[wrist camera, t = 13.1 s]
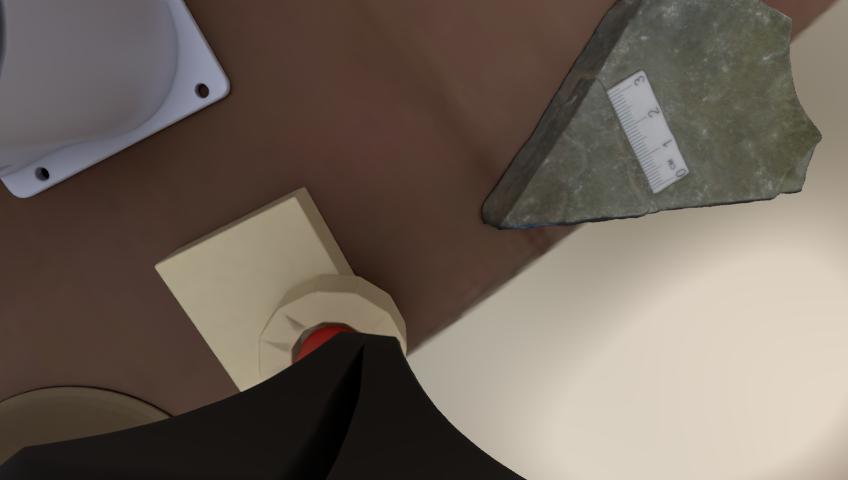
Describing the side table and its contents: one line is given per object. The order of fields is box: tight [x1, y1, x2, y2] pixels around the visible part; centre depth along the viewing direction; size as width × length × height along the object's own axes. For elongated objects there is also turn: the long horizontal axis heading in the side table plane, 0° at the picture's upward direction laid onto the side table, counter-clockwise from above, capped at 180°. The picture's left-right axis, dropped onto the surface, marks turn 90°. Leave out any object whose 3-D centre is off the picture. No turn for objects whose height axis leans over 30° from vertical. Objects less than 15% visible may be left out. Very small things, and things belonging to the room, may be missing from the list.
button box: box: [155, 187, 407, 392], centre depth 19 cm, size 7×8×4 cm
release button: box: [296, 326, 352, 362], centre depth 17 cm, size 2×2×2 cm
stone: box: [481, 0, 822, 230], centre depth 19 cm, size 13×10×2 cm
